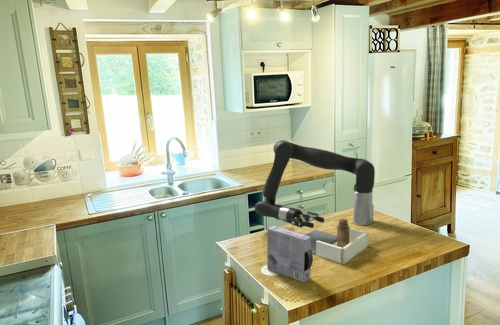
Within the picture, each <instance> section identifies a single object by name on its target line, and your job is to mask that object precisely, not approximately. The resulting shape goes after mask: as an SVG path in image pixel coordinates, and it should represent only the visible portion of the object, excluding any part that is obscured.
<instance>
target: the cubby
mask: <svg viewBox="0 0 500 325" xmlns="http://www.w3.org/2000/svg"><path fill="white" fill-rule="evenodd" d="M368 247H369V232H367V231H365V230H364V231H363V230H359V229H356V228H352V227H350V231H349V244H347V245H346V246H345V247H343V248H341V247H338V246H337V241H334V242H333V243H331V244H328V243H325V242H321V241H318V240H317V241H316V254H315V256H316V257H317V256H318V257H320V258H323V259H327V260H329V261H332V262H334V263H335V262H336V263H338V264H342V265H345V264H346V263H348V262H349V261H350V260H351V259H353V258H354V257H355V256H357V255H358V254H360V253H361V252H362V251H363V250H364V249H366V248H368Z"/></svg>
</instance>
